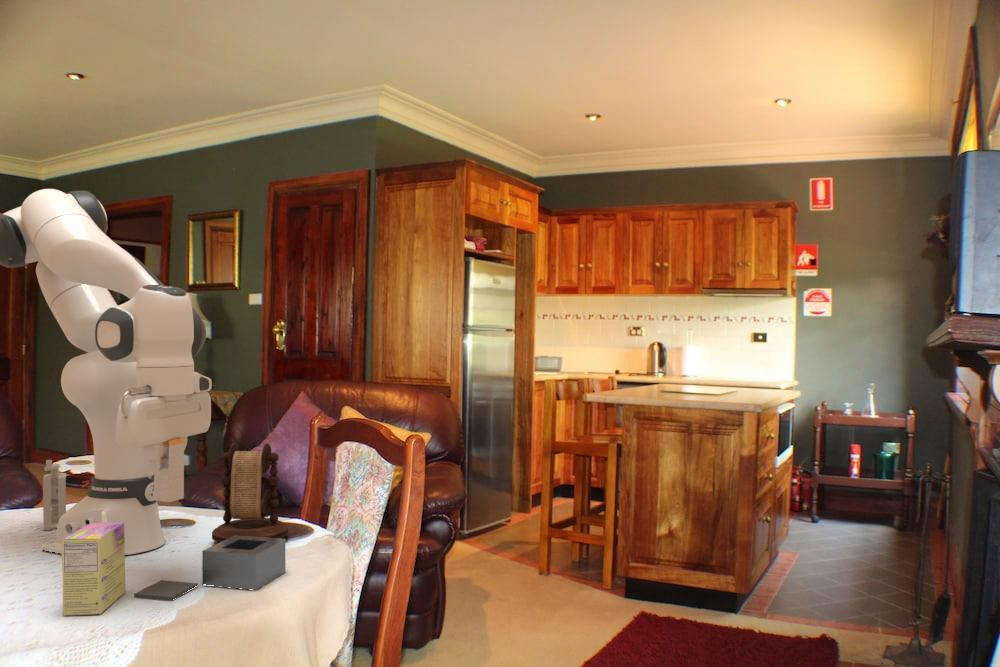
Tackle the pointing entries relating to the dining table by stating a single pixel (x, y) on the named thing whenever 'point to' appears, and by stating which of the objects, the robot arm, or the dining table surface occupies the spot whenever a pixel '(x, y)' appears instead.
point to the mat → (165, 590)
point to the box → (93, 568)
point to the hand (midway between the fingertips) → (166, 467)
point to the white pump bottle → (53, 495)
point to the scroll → (250, 495)
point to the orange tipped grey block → (170, 472)
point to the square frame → (243, 562)
